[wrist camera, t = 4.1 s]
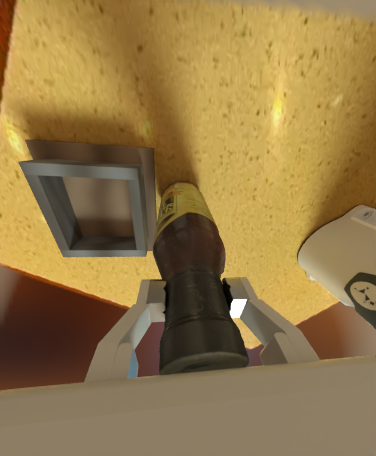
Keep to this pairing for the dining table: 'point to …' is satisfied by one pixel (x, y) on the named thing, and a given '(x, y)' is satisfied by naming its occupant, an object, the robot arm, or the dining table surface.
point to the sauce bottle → (193, 287)
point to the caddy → (95, 196)
